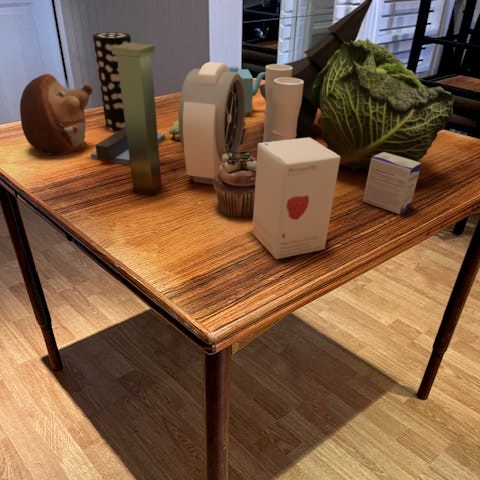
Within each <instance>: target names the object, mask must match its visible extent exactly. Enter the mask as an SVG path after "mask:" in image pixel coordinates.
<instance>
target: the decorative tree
mask: <svg viewBox="0 0 480 480" xmlns="http://www.w3.org/2000/svg"><path fill="white" fill-rule="evenodd" d="M372 2H373V0H364V1H362V3H360V4H359V5H358V6H356V7H355V8H354V9H353V10H351V11H350V12H348V13H347V14H346V15H344V16H343V17H341V18H340V19H339V20H337V21H336V22H334V23H333V24H332V25H330V26H329V27H328V28H327V30H328V31H329V33H327V34H326V35H325V36H323V37H322V38H320V39H319V40H318V41H317V42H316V43H315V44H313V46H311V47H309V48H308V49H307V50H305V51H304V52H303V53H304V54H306V56H305V57H302V58H300V59H297V60H294V61H291V62H287V63H285V64H284V65H288V66H291V67H292V68H293V69H292V78H297V79H301V80H303V81H304V83H303V92H302V102H301V106H300V110H299V115H298V118H297V128H296V130H298V131H299V132H300V133H301V134H302V135H303V136H305V138H308V137H310V138H312V137H313V132H314V131H313V130H314V126H315V121H316V117H317V114H318V111H319V108H318V107H316V106H313V105H312V103H311V101H312V98H311V97H310V96H312V93H313V92H312V88H313V85H314V82H315V80H316V78H317V76H318V74H319V73H320V72H321V71H322V70H323V69H324V68H325V66H326V65H327V63H328V61H329V60H330V58H331V57H332V56H333V55H334V54H335V52H336V51H338V50H339V49H340V48H341V46H342V44H344V42H346V43H350V41H354V42H356V41H357V39H358V35H359V33H360V30H361V28H362V24H363V22H364V20H365V18H366V16H367V14H368V11H369V10H370V7H371V5H372ZM259 91H260V95H261V97H262V98H263V99H264V101H265V102H266V95H265V83H264V84H262V85H261V84H260V86H259ZM312 139H313V138H312Z"/></svg>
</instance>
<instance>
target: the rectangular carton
mask: <svg viewBox="0 0 480 480" xmlns="http://www.w3.org/2000/svg"><path fill="white" fill-rule="evenodd" d="M326 147H327V146H325V145H322V144H321V143H320V142H318V141H316V140H315V139H313V138H310V137H308V138H307V137H300V138H295V139H290V140H280V141H273V142H264V143H263V142H258V143H257V150H256V151H257V152H256V161H257V166H256V182H255V197H254V213H253V216H252V229H251V231H252V232H251V234H252V235H253V236H254V237H255V238H256V239H257V240H258V241H259V242H260V243H261V245H263V247H264V248H265V249H266V250H267V252H268V253H270V254H271V255H272V256H273V258H274V259H275V260H280V259H284V258H289V257H295V256H299V255H304V254H308V253H312V252H319V251H322V250H325V249H326V244H327V238H328V232H329V226H330V220H331V215H332V208H333V202H334V196H335V191H336V186H337V179H338V174H339V167H340V165H339V162H340V156H339V155H337V154H336V153H334V152H333V151H331V150H329V149H327V148H326Z"/></svg>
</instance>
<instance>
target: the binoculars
mask: <svg viewBox="0 0 480 480" xmlns="http://www.w3.org/2000/svg"><path fill="white" fill-rule="evenodd" d="M292 69H293V68H292V67H291V66H288V65H285V64H280V63H271V64H267V65H265V72H266V73H265V76H264V84H265V95H266V101H265V110H264V113H263V114H264V123H263V139H262V143H264V142H273V141H280V140H290V139H297V138H296V137H297V118H298V115H299V110H300V106H301V102H302V92H303V83H304V81H303V80H301V79H297V78H292Z"/></svg>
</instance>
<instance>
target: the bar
mask: <svg viewBox="0 0 480 480" xmlns="http://www.w3.org/2000/svg"><path fill="white" fill-rule="evenodd" d="M94 146H95V151H96V153H97V159H96V160H98V159H99V161H105V160H106V162H111V160H113V159H114V158H116V157H117V156H118V155H120V154H121V153H123V152H124V151H126V150H127V149H128V142H127V134H126V127H125V128H123V129H121V130H120V131H118V132H115V133H113V134H112V135H110V136H107V137H106V138H104V139H103V140H101V141H100V142H98V143H96V144H94Z"/></svg>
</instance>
